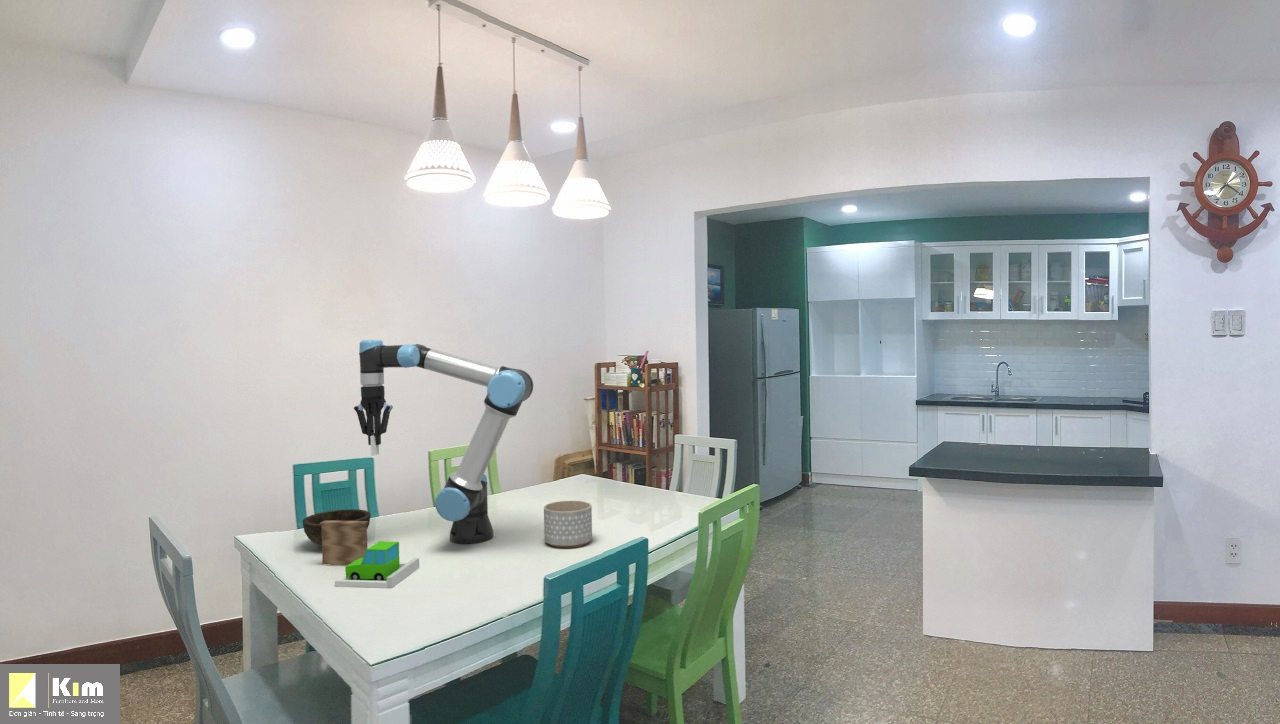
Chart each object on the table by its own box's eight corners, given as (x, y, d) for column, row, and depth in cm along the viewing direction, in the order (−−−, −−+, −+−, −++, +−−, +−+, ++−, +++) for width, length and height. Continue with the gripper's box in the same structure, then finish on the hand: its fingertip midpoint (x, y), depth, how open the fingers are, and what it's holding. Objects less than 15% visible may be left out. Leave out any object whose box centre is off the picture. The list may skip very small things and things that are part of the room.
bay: (419, 567, 222) (419, 558, 222) (391, 588, 204) (391, 577, 204) (366, 566, 224) (366, 556, 224) (334, 586, 206) (334, 576, 206)
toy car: (360, 571, 219) (359, 539, 219) (401, 573, 217) (400, 540, 217) (342, 583, 209) (341, 549, 209) (385, 584, 207) (384, 550, 207)
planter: (602, 541, 247) (601, 505, 246) (566, 552, 235) (565, 514, 234) (570, 533, 258) (569, 498, 257) (534, 543, 246) (533, 506, 245)
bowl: (304, 558, 233) (303, 528, 233) (302, 542, 252) (301, 514, 252) (375, 548, 243) (374, 519, 243) (367, 533, 263) (366, 506, 262)
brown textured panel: (369, 563, 227) (368, 521, 227) (364, 566, 224) (363, 523, 224) (326, 562, 229) (324, 520, 229) (321, 565, 226) (319, 522, 226)
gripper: (395, 384, 244) (398, 452, 245) (359, 384, 246) (362, 452, 247) (385, 385, 237) (388, 456, 238) (348, 386, 238) (351, 456, 239)
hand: (375, 454), depth 242 cm, fingers closed
